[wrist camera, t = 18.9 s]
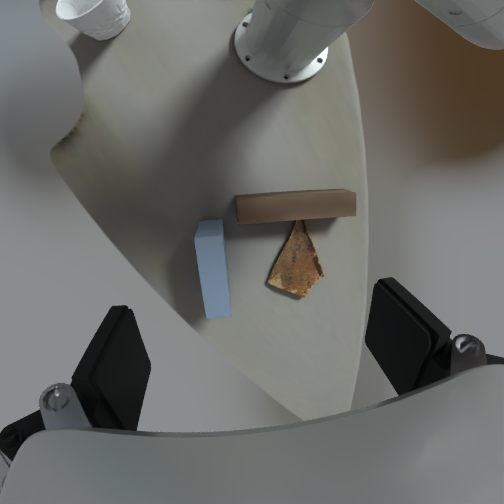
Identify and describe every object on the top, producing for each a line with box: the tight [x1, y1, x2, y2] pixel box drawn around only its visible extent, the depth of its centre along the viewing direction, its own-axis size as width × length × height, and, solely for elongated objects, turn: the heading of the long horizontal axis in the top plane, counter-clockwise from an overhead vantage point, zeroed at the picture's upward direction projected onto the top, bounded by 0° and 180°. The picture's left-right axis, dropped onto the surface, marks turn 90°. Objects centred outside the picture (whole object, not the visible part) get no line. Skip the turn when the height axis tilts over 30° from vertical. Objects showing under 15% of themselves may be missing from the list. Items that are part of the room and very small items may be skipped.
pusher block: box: [194, 219, 232, 319], centre depth 34 cm, size 3×10×8 cm, turn 4°
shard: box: [268, 220, 324, 298], centre depth 39 cm, size 11×8×2 cm
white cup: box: [56, 0, 131, 41], centre depth 20 cm, size 8×8×10 cm
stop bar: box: [236, 189, 356, 225], centre depth 35 cm, size 3×15×4 cm, turn 94°
